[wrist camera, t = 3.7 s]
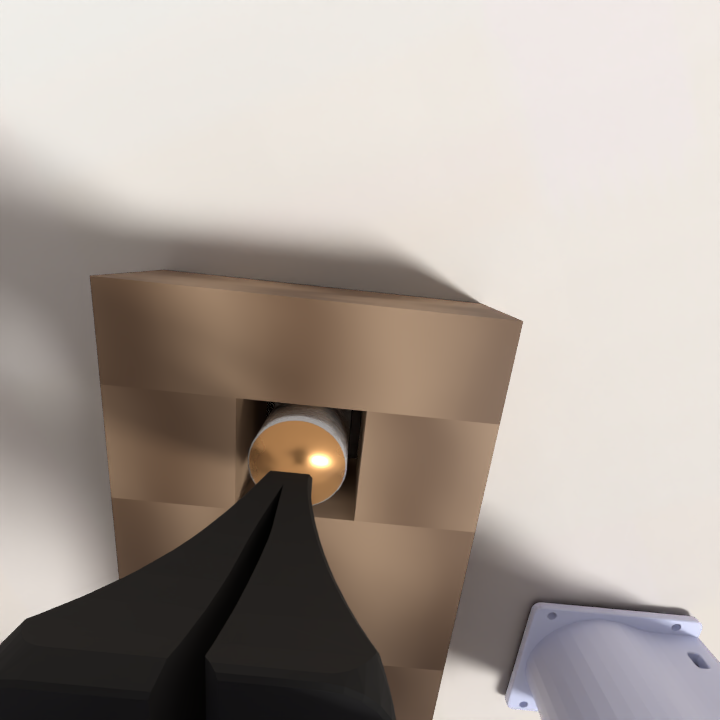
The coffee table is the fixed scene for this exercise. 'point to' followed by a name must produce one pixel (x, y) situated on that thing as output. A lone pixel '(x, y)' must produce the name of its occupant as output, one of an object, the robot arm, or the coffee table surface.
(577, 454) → the coffee table surface
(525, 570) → the coffee table surface
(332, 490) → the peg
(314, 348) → the socket block
